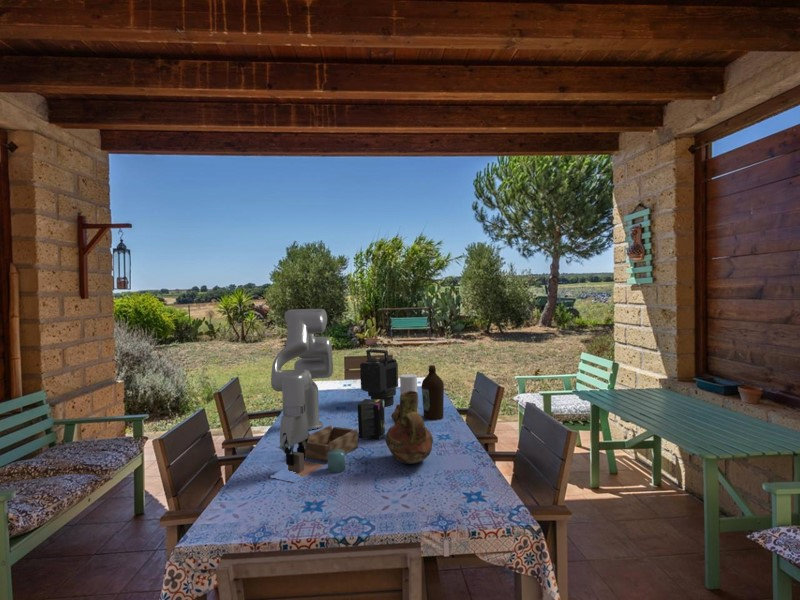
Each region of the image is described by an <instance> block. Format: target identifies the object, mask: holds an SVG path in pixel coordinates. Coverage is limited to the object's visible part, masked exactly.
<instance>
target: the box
mask: <svg viewBox="0 0 800 600" xmlns="http://www.w3.org/2000/svg"><path fill="white" fill-rule="evenodd" d="M309 434H310V437H309V439H308V441H307V443H306V448H305V458H306V459H305V460H310V459H311V461H317V462H320V463H321V462H322V463H327V464H328V457H327V453H328V452H329V451H331V450H336V449H340V450H344V451H345V456H346V455H347V454H349V453H351V452H353V451H354V450H356V449H358V448H359V431H358V428H355V429H353V428H345V427H339V426H334V427H332V425H331V424H330V425H328V426H325V427H324V428H321V429H319V430H317V431H315V432H312V433H309Z"/></svg>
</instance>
